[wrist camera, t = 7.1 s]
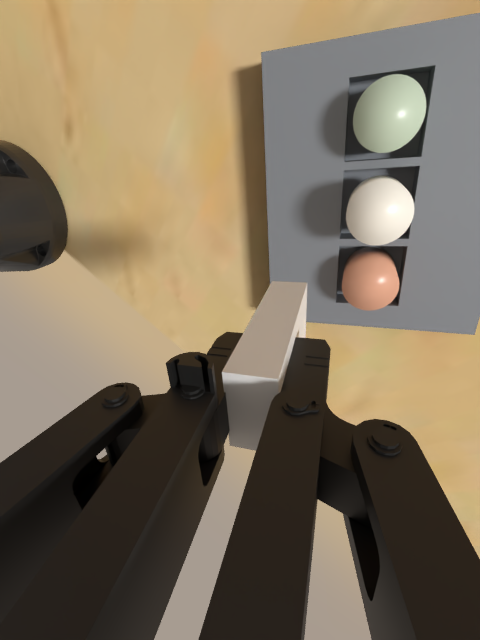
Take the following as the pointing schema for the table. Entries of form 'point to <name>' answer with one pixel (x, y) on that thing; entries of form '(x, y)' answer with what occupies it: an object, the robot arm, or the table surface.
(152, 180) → the table surface
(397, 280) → the terracotta button
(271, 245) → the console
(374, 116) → the sage button
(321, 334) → the table surface
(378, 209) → the white egg
